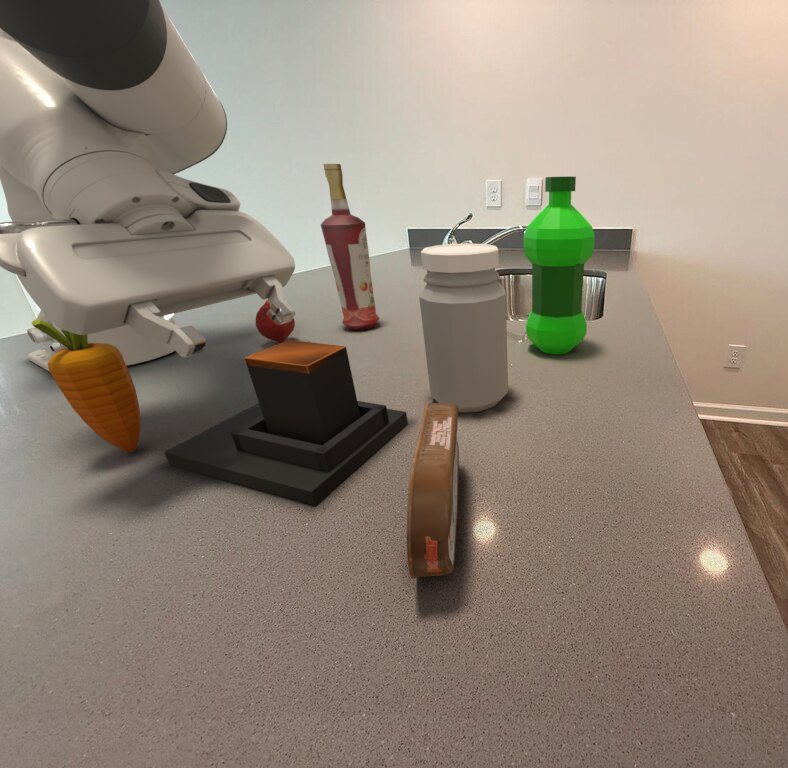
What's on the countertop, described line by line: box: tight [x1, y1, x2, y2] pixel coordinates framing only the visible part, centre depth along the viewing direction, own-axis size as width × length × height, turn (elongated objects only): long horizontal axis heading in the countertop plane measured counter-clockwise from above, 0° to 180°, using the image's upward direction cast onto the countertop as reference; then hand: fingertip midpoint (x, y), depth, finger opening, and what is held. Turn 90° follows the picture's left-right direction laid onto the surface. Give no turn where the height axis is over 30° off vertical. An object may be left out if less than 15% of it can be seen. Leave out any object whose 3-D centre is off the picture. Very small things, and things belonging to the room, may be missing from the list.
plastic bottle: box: [523, 176, 596, 355], centre depth 61 cm, size 10×10×25 cm
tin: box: [406, 401, 460, 579], centre depth 30 cm, size 15×3×8 cm, turn 5°
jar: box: [418, 243, 509, 414], centre depth 47 cm, size 10×10×18 cm
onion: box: [255, 298, 296, 344], centre depth 70 cm, size 6×6×8 cm
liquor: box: [320, 163, 380, 331], centre depth 73 cm, size 7×7×28 cm
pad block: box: [244, 339, 361, 446], centre depth 39 cm, size 7×5×9 cm
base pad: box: [163, 400, 409, 506], centre depth 42 cm, size 18×14×4 cm
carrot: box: [31, 318, 142, 453], centre depth 39 cm, size 5×5×15 cm
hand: (247, 333), depth 37 cm, fingers open, 8 cm apart
